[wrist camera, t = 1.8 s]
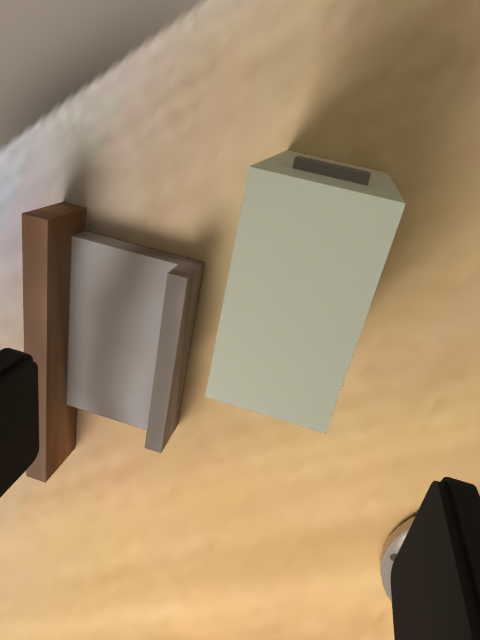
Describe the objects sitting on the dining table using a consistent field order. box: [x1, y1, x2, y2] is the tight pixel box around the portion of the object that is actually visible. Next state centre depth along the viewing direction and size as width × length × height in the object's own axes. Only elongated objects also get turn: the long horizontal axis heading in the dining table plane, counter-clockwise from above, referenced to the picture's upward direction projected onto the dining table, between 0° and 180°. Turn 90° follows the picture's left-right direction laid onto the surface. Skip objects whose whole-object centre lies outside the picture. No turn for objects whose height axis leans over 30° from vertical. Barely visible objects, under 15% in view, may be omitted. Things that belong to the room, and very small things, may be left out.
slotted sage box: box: [205, 150, 406, 434], centre depth 22 cm, size 6×10×10 cm, turn 169°
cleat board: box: [22, 202, 204, 483], centre depth 31 cm, size 10×20×4 cm, turn 169°
